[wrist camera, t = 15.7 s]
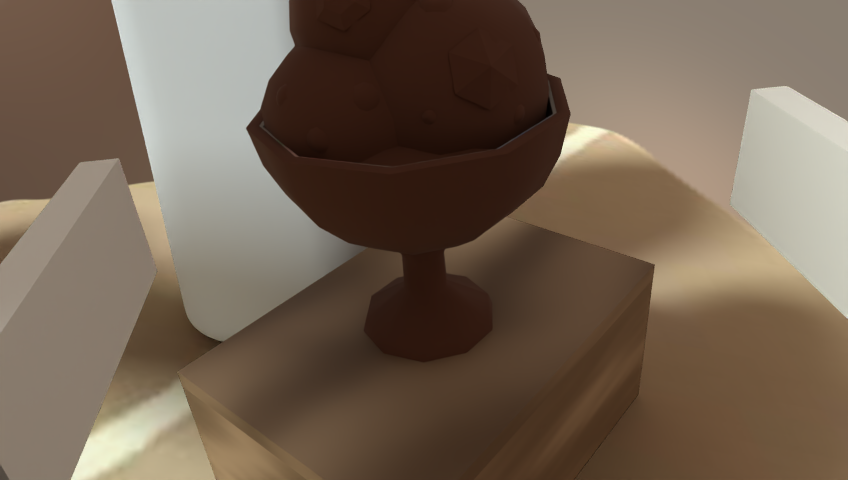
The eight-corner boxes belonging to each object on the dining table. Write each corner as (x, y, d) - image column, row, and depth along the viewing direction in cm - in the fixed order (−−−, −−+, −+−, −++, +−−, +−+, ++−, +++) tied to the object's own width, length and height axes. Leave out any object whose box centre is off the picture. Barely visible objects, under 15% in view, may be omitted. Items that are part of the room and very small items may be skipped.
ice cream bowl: (270, 416, 24) (147, -27, 16) (330, 248, 33) (272, -84, 26) (572, 417, 23) (598, -58, 15) (546, 242, 32) (555, -106, 24)
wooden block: (224, 501, 31) (176, 371, 26) (453, 311, 41) (445, 196, 37) (424, 677, 24) (404, 538, 20) (638, 394, 34) (654, 264, 30)
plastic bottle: (398, 380, 37) (316, -254, 22) (163, 343, 41) (-38, -209, 26) (464, 236, 49) (439, -234, 34) (277, 219, 53) (184, -206, 38)
